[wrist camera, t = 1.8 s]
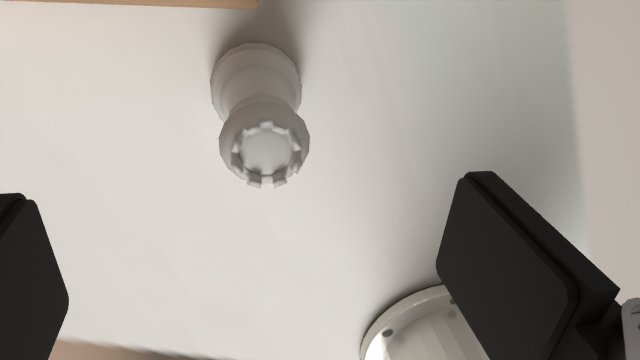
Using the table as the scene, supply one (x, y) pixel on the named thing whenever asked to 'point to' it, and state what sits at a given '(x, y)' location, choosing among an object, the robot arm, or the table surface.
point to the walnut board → (169, 3)
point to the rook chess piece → (259, 114)
